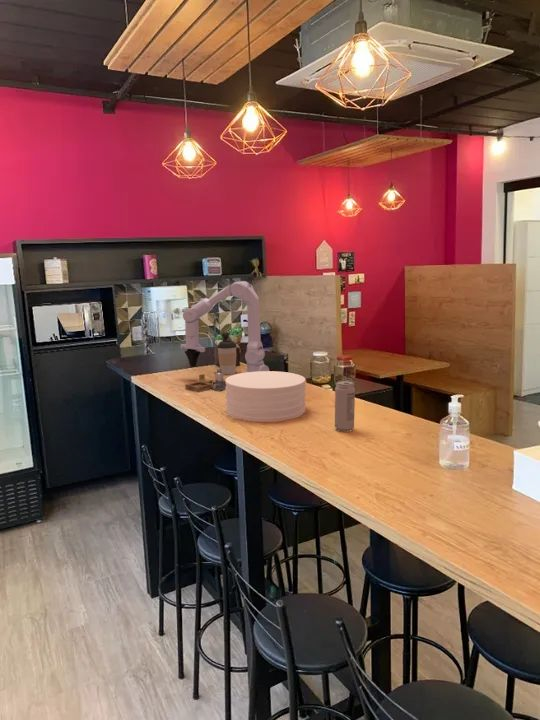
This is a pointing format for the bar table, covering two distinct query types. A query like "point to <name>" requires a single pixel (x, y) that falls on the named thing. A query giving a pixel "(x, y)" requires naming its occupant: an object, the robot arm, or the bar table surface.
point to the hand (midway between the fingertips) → (193, 366)
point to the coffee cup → (227, 356)
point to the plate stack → (265, 396)
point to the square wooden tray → (198, 386)
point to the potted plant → (216, 358)
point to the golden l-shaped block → (202, 379)
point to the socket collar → (219, 387)
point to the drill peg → (218, 378)
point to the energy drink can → (344, 406)
